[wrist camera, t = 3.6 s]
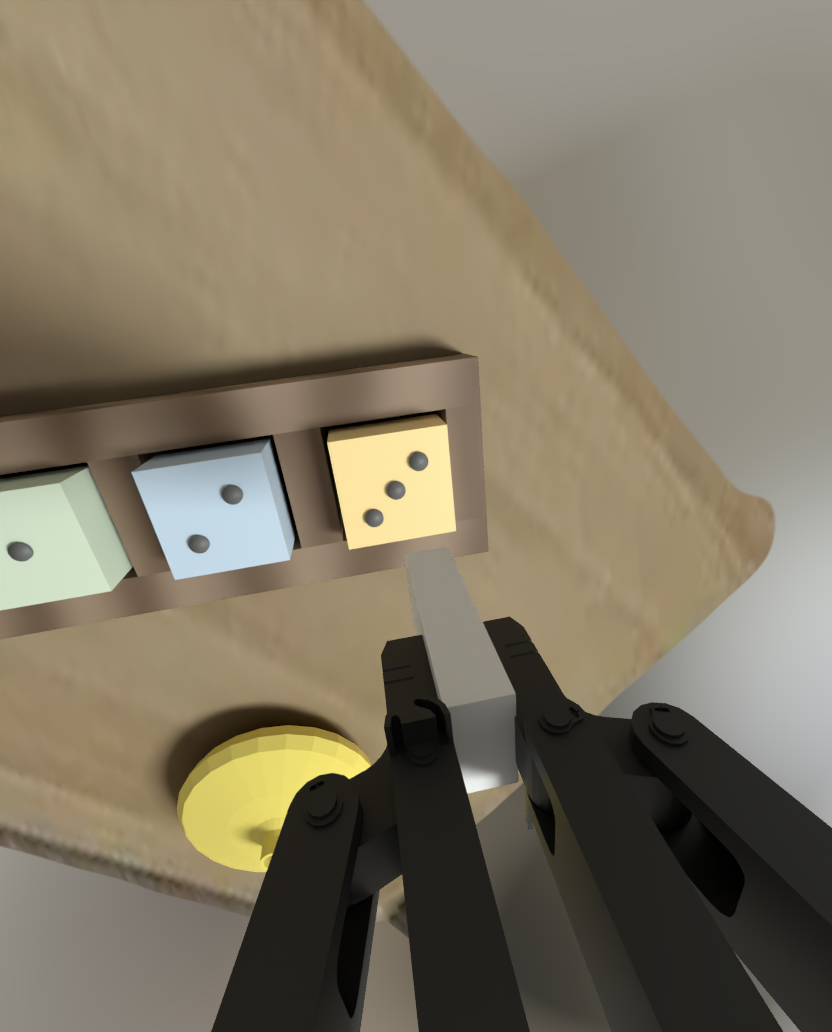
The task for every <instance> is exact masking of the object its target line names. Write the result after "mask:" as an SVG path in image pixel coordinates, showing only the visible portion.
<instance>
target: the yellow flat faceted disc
mask: <svg viewBox="0 0 832 1032" xmlns="http://www.w3.org/2000/svg"><path fill="white" fill-rule="evenodd" d="M371 766H372V765H371V763H370V760H369V758H368V757H367V756H366V755H365V754H364V753H363V752H362V751H361V750H360V749H359V747H358V746H357V745H356V744H354V743H352V742H350V741H349V740H347V739H345V738H343V737H342V736H340V735H338V734H336V733H332V732H329V731H325V730H322V729H319V728H315V727H305V726H292V725H286V726H276V727H267V728H260V729H257V730H254V731H250V732H247V733H244V734H241V735H237V736H235V737H233V738H231V739H230V740H228V741H226V742H224V743H222V744H220V745H219V746H217V747H215V748H214V749H213V750H212V751H211V752H209V753H208V754H207V755H206V756H205V757H204V758H203V759H202V760H201V761H200V762H199V763H198V764H197V765H196V767H195V768H194V769H193V770H192V772H191V773H190V774H189V776H188V778H187V780H186V781H185V783H184V785H183V787H182V788H181V790H180V792H179V797H178V805H177V814H178V817H179V820H180V824H181V827H182V829H183V831H184V833H185V835H186V836H187V838H188V839H189V840H190V841H191V843H192V844H193V845H194V846H195V848H196V849H197V850H198V851H199V852H201V853H202V854H204V855H205V856H207V857H208V858H210V859H211V860H213V861H215V862H218V863H220V864H223V865H226V866H228V867H231V868H234V869H240V870H246V871H253V872H267V869H268V866H269V863H270V860H271V857H272V855H273V852H274V849H275V846H276V843H277V840H278V837H279V834H280V831H281V828H282V826H283V823H284V820H285V817H286V814H287V811H288V808H289V806H290V804H291V802H292V800H293V798H294V796H295V794H296V793H297V792H298V791H299V790H300V789H301V788H302V787H303V786H304V785H305V784H306V783H307V782H308V781H310V780H312V779H314V778H315V777H317V776H319V775H323V774H329V773H336V774H340V775H345V776H346V777H347V778H348V779H350V778H352V777H354V776H356V775H357V774H359V773H361V772H363V771H365V770H366V769H368V768H369V767H371Z"/></svg>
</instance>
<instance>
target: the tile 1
mask: <svg viewBox="0 0 832 1032" xmlns="http://www.w3.org/2000/svg"><path fill="white" fill-rule="evenodd" d="M132 567H133V565H132V562H131V560H130V558H129V556H128V553H127V551H126V549H125V547H124V544H123V542H122V540H121V538H120V535H119V533H118V531H117V529H116V526H115V524H114V522H113V520H112V517H111V515H110V513H109V511H108V508H107V506H106V504H105V502H104V499H103V497H102V495H101V493H100V490H99V488H98V486H97V484H96V481H95V479H94V477H93V475H92V472H91V470H90V468H89V466H82V467H75V468H69V469H62V470H55V471H48V472H42V473H35V474H28V475H21V476H15V477H8V478H1V479H0V611H1V610H6V609H12V608H18V607H23V606H29V605H35V604H41V603H46V602H52V601H58V600H64V599H69V598H75V597H81V596H87V595H92V594H98V593H104V592H110V591H112V590H113V589H114V588H115V587H116V585H117V584H118V583H119V582H120V581H121V580H122V579H123V577H124V576H125V575H126V574H127V573H128V572H129V571H130V569H131V568H132Z"/></svg>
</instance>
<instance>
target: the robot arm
mask: <svg viewBox="0 0 832 1032" xmlns="http://www.w3.org/2000/svg"><path fill="white" fill-rule="evenodd" d="M404 557H405V564H406V571H407V577H408V584H409V591H410V598H411V605H412V612H413V619H414V623H415V628H416V632H417V636H412V637H407V638H402V639H397V640H391V641H387V643H386V645H385V647H384V650H383V652H382V654H381V660H382V669H383V678H384V688H385V697H386V707H387V715H386V717H385V724H384V730H385V735H386V740H387V747H386V749H385V751H384V753H383V754H382V756H381V757H380V758H379V759H378V760H377V761H376V763H375V764H373V765H372V766H371V767H369V768H368V769H366V770H365V771H363V772H361V773H359V774H357V775H356V776H354V777H352V778H350V779H348V778H347V777H346V776H345V775H340V774H336V773H329V774H323V775H319V776H317V777H315V778H314V779H312V780H310V781H308V782H307V783H306V784H305V785H304V786H303V787H302V788H301V789H300V790H299V791H298V792H297V793H296V794H295V796H294V798H293V800H292V802H291V804H290V806H289V808H288V811H287V814H286V817H285V820H284V823H283V826H282V828H281V831H280V834H279V837H278V840H277V843H276V846H275V849H274V852H273V855H272V857H271V860H270V863H269V866H268V869H267V872H266V875H265V878H264V881H263V883H262V886H261V889H260V892H259V895H258V898H257V901H256V904H255V907H254V910H253V912H252V915H251V918H250V921H249V924H248V927H247V930H246V933H245V936H244V939H243V941H242V944H241V947H240V950H239V953H238V956H237V959H236V962H235V965H234V967H233V970H232V973H231V976H230V979H229V982H228V985H227V988H226V991H225V994H224V996H223V999H222V1003H221V1005H220V1008H219V1011H218V1014H217V1017H216V1020H215V1023H214V1026H213V1028H212V1031H211V1032H360V1027H361V1020H362V1012H363V1006H364V999H365V991H366V984H367V976H368V970H369V962H370V955H371V948H372V941H373V933H374V926H375V919H376V912H377V905H378V898H379V890H380V889H381V888H382V887H384V886H385V885H387V884H388V883H390V882H391V881H393V880H394V879H396V878H397V877H399V876H400V875H401V874H402V876H403V885H404V895H405V904H406V914H407V923H408V933H409V942H410V952H411V961H412V971H413V980H414V990H415V998H416V1009H417V1019H418V1028H419V1032H530V1031H529V1027H528V1023H527V1020H526V1016H525V1012H524V1008H523V1004H522V1001H521V997H520V993H519V989H518V985H517V982H516V978H515V974H514V970H513V966H512V963H511V958H510V955H509V951H508V947H507V943H506V939H505V936H504V932H503V928H502V924H501V920H500V917H499V913H498V909H497V905H496V902H495V897H494V894H493V890H492V886H491V882H490V879H489V875H488V871H487V867H486V863H485V859H484V856H483V852H482V848H481V844H480V840H479V837H478V833H477V829H476V825H475V821H474V817H473V814H472V810H471V806H470V802H469V798H468V795H467V793H472V792H476V791H481V790H485V789H489V788H494V787H498V786H503V785H507V784H512V783H516V782H518V769H519V772H520V774H521V777H522V779H523V782H524V785H525V787H526V821H527V827H528V829H532V828H533V823H534V826H535V829H536V831H537V834H538V837H539V839H540V842H541V845H542V847H543V850H544V853H545V855H546V858H547V861H548V863H549V866H550V869H551V871H552V874H553V877H554V879H555V882H556V885H557V887H558V890H559V893H560V895H561V898H562V901H563V903H564V906H565V909H566V912H567V914H568V917H569V919H570V922H571V925H572V927H573V930H574V933H575V935H576V938H577V941H578V943H579V946H580V949H581V952H582V954H583V957H584V960H585V962H586V965H587V968H588V970H589V973H590V975H591V978H592V981H593V984H594V986H595V989H596V992H597V994H598V997H599V1000H600V1002H601V1005H602V1008H603V1010H604V1012H605V1016H606V1018H607V1021H608V1024H609V1026H610V1029H611V1031H612V1032H783V1031H782V1029H781V1027H780V1026H779V1024H778V1022H777V1021H776V1019H775V1018H774V1016H773V1014H772V1013H771V1011H770V1009H769V1008H768V1006H767V1005H766V1003H765V1002H764V1000H763V998H762V997H761V995H760V993H759V992H758V990H757V988H756V987H755V985H754V984H753V982H752V980H751V979H750V977H749V975H748V974H747V972H746V971H745V969H744V968H743V966H742V964H741V963H740V961H739V959H738V958H737V956H736V954H737V955H738V957H739V958H740V959H741V960H742V962H743V963H744V964H745V965H746V966H747V967H748V969H749V970H750V971H751V972H752V974H753V975H754V976H755V977H756V978H757V980H758V981H759V982H760V983H761V984H762V986H763V987H764V988H765V989H766V990H767V992H768V993H769V994H770V995H771V996H772V997H773V999H774V1000H775V1001H776V1002H777V1004H778V1005H779V1006H780V1007H781V1008H782V1010H783V1011H784V1012H785V1013H786V1014H787V1016H788V1017H789V1018H790V1019H791V1020H792V1022H793V1023H794V1024H795V1025H796V1026H797V1028H798V1029H799V1030H800V1031H801V1032H832V828H831V827H830V826H829V825H827V824H826V823H825V822H823V821H822V820H821V819H820V818H819V817H817V816H816V815H815V814H814V813H812V812H811V811H810V810H809V809H807V808H806V807H805V806H804V805H802V804H801V803H800V802H799V801H798V800H796V799H795V798H793V797H792V796H791V795H790V794H789V793H788V792H786V791H785V790H784V789H782V788H781V787H780V786H779V785H778V784H776V783H775V782H774V781H773V780H771V779H770V778H769V777H768V776H766V775H765V774H764V773H763V772H761V771H760V770H759V769H758V768H756V767H755V766H754V765H753V764H751V763H750V762H749V761H748V760H746V759H745V758H744V757H743V756H742V755H740V754H739V753H737V752H736V751H735V750H734V749H733V748H731V747H730V746H729V745H728V744H727V743H725V742H724V741H723V740H722V739H720V738H719V737H718V736H717V735H715V734H714V733H713V732H712V731H710V730H709V729H708V728H707V727H705V726H704V725H703V724H702V723H700V722H699V721H698V720H697V719H695V718H694V717H693V716H691V715H690V714H688V713H687V712H685V711H683V710H682V709H680V708H677V707H675V706H672V705H668V704H666V703H648V704H644V705H641V706H640V707H639V708H637V709H636V710H635V711H634V712H633V716H632V719H623V718H610V717H601V716H596V715H592V714H590V713H587V712H585V711H584V710H583V709H582V708H581V707H580V706H579V705H578V704H576V703H574V702H573V701H571V700H569V699H567V698H566V697H565V696H564V694H563V693H562V691H561V689H560V688H559V686H558V684H557V683H556V681H555V679H554V677H553V676H552V674H551V672H550V671H549V669H548V667H547V666H546V664H545V662H544V661H543V659H542V657H541V656H540V654H538V650H537V649H536V647H535V645H534V644H533V643H532V641H531V639H530V637H529V635H528V634H527V632H526V630H525V628H524V627H523V626H522V625H520V624H519V623H518V622H516V621H515V620H513V619H512V618H511V617H506V618H501V619H495V620H490V621H485V622H482V620H481V617H480V615H479V613H478V611H477V609H476V607H475V604H474V602H473V600H472V598H471V596H470V594H469V592H468V589H467V587H466V585H465V583H464V581H463V579H462V576H461V574H460V572H459V570H458V568H457V566H456V563H455V561H454V559H453V557H452V555H451V553H450V550H449V548H448V546H447V547H441V548H435V549H429V550H424V551H418V552H412V553H406V554H404ZM734 952H735V953H736V954H735V953H734Z"/></svg>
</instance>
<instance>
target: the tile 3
mask: <svg viewBox="0 0 832 1032" xmlns="http://www.w3.org/2000/svg"><path fill="white" fill-rule="evenodd" d="M327 444H328V449H329V454H330V459H331V464H332V468H333V473H334V478H335V483H336V488H337V493H338V498H339V503H340V508H341V513H342V517H343V522H344V527H345V532H346V537H347V542H348V547H349V550H351V549H356V548H362V547H368V546H373V545H379V544H385V543H391V542H396V541H402V540H408V539H414V538H419V537H425V536H431V535H437V534H442V533H448V532H454V531H456V522H455V511H454V499H453V488H452V476H451V465H450V453H449V442H448V430H447V424H446V423H445V422H444V421H443V420H442V419H441V418H440V417H439V416H438V415H436V414H432V415H425V416H419V417H412V418H405V419H399V420H392V421H385V422H378V423H372V424H365V425H358V426H351V427H345V428H338V429H331V430H329V433H328V441H327Z"/></svg>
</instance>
